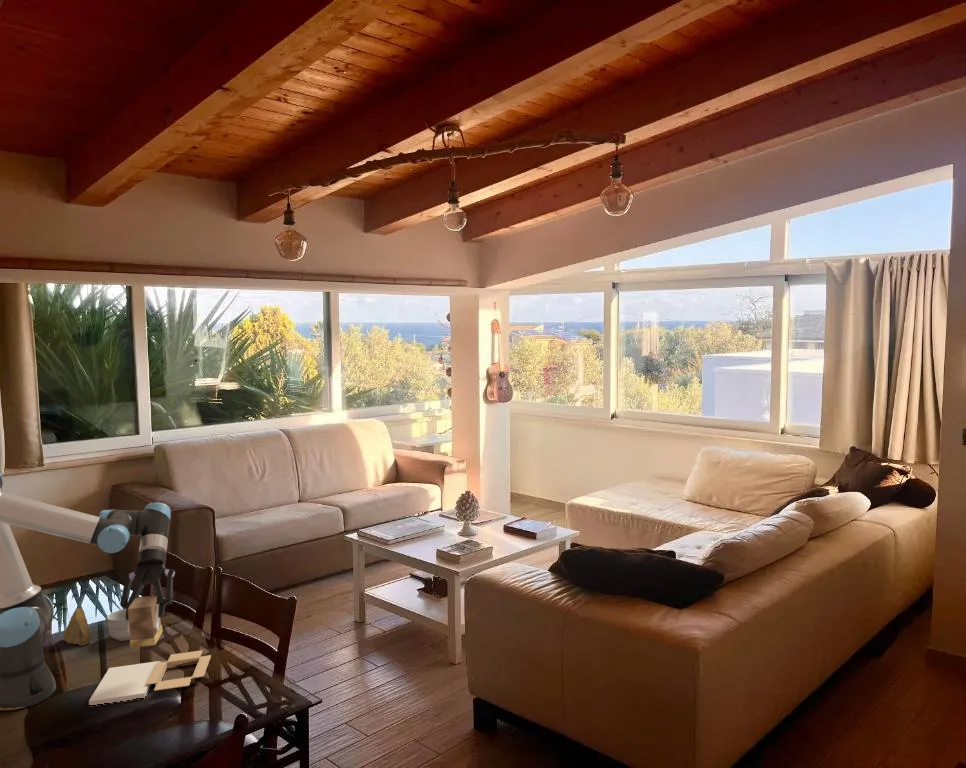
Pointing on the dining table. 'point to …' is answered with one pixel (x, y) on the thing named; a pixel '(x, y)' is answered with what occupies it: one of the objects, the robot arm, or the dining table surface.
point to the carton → (176, 660)
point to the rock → (77, 629)
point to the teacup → (118, 625)
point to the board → (123, 684)
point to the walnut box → (143, 621)
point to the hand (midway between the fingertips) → (143, 630)
